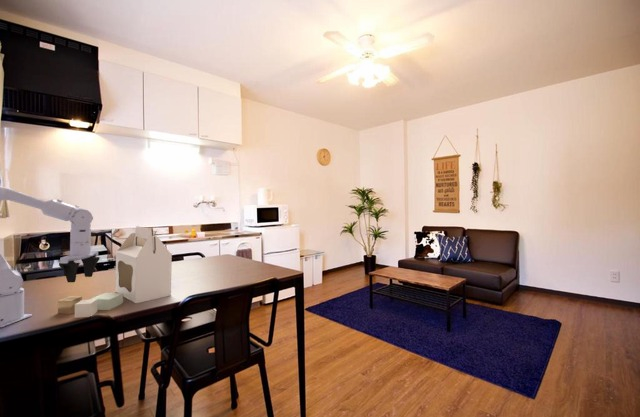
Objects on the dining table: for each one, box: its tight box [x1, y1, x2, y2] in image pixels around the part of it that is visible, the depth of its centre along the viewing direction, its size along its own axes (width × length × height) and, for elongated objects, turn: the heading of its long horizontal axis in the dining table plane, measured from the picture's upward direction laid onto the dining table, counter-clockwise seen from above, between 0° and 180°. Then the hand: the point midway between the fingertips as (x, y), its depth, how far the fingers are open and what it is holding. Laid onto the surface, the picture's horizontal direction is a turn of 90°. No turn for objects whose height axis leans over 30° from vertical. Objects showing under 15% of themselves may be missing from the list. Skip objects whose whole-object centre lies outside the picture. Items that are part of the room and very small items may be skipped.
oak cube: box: [57, 295, 83, 314], centre depth 99 cm, size 4×4×4 cm
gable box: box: [115, 225, 173, 304], centre depth 119 cm, size 22×13×28 cm, turn 52°
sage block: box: [90, 292, 124, 311], centre depth 104 cm, size 7×7×4 cm
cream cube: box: [74, 298, 98, 319], centre depth 96 cm, size 4×4×4 cm
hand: (80, 279), depth 103 cm, fingers open, 7 cm apart
